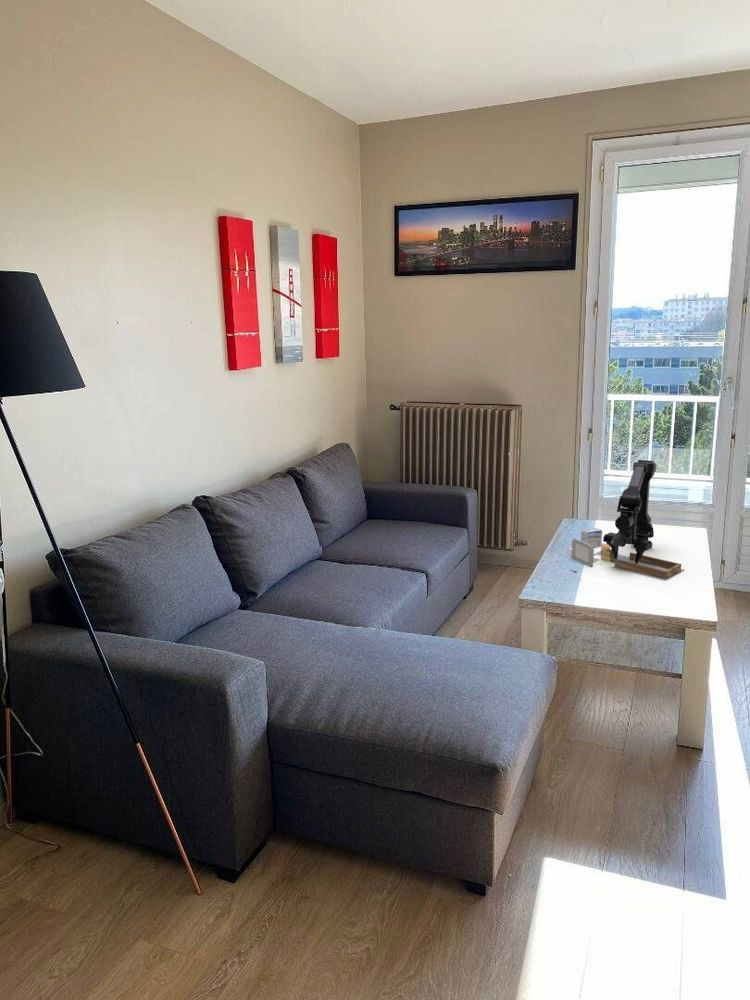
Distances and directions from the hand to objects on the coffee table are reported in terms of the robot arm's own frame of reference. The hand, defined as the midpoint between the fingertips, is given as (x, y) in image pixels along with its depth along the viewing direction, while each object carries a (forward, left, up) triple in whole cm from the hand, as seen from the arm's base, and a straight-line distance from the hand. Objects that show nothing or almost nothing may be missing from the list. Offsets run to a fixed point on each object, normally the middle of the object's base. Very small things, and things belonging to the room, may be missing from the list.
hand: (626, 561), depth 305 cm
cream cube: (+4, -21, -2) cm, 22 cm away
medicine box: (-11, -23, -2) cm, 25 cm away
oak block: (0, -8, -1) cm, 8 cm away
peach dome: (-6, -13, -1) cm, 14 cm away
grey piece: (+13, -16, -3) cm, 21 cm away
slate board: (-1, +2, -2) cm, 3 cm away
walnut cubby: (0, +9, -1) cm, 9 cm away
